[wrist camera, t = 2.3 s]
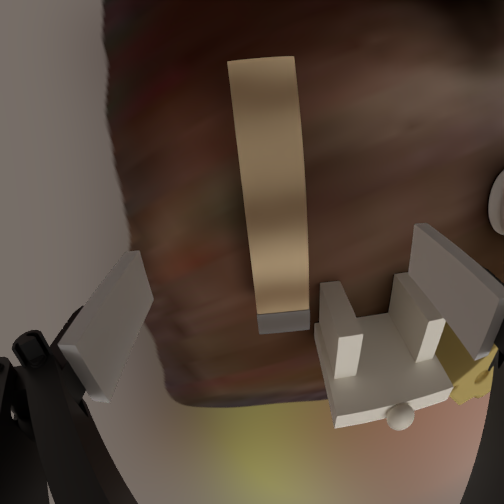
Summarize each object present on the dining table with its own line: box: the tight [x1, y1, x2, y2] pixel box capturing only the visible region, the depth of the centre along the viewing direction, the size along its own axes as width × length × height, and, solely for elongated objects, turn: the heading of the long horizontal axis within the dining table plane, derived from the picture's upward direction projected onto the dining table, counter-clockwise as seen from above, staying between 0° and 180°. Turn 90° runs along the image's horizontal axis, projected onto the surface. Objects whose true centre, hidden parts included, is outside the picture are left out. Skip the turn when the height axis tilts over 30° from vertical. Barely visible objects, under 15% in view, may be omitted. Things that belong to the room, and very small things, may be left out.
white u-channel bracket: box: [314, 272, 454, 430], centre depth 24 cm, size 7×11×14 cm, turn 96°
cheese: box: [435, 322, 498, 405], centre depth 28 cm, size 10×11×10 cm
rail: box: [227, 56, 310, 334], centre depth 22 cm, size 20×4×6 cm, turn 6°
